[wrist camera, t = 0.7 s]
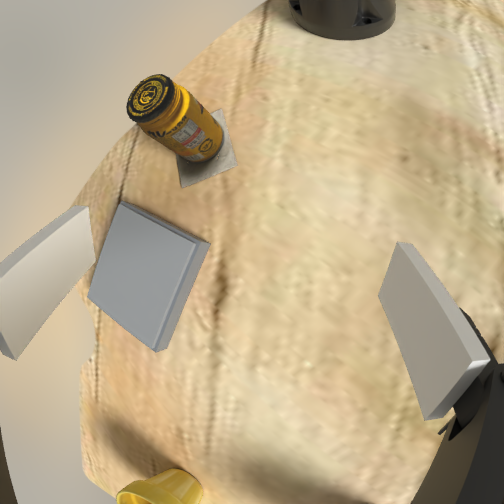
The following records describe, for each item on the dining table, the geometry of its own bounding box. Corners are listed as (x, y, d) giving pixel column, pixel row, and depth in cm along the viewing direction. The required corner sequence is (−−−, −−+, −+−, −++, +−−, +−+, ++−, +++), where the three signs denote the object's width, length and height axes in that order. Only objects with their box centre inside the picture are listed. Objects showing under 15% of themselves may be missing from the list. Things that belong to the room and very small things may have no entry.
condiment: (222, 109, 35) (173, 55, 23) (238, 166, 33) (186, 120, 22) (172, 132, 37) (114, 91, 25) (183, 188, 35) (117, 157, 24)
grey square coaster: (133, 204, 38) (118, 199, 35) (210, 243, 34) (198, 241, 31) (99, 296, 39) (84, 297, 36) (167, 348, 35) (152, 353, 32)
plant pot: (163, 500, 34) (130, 531, 25) (146, 453, 35) (104, 482, 26) (221, 513, 31) (192, 552, 22) (206, 464, 32) (169, 503, 23)
